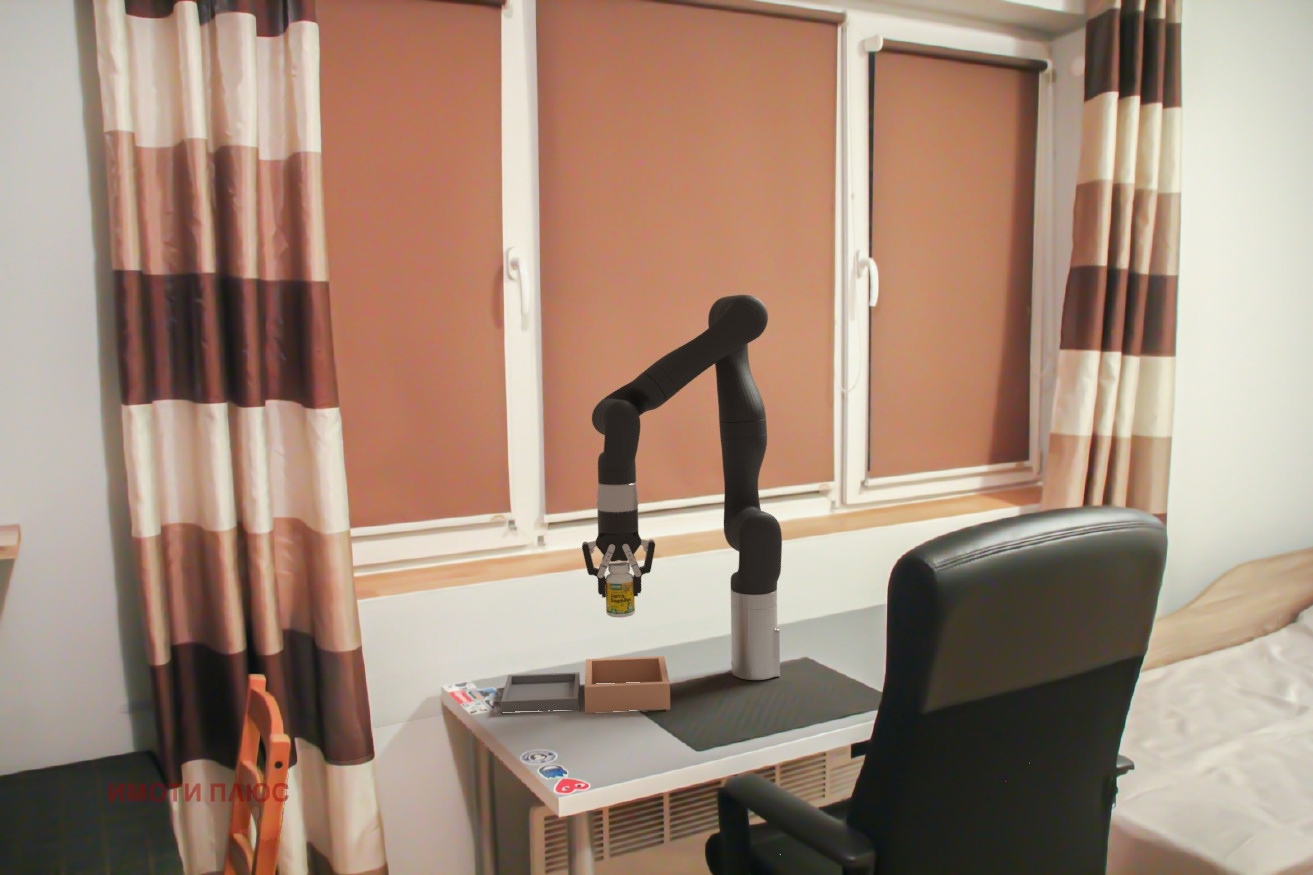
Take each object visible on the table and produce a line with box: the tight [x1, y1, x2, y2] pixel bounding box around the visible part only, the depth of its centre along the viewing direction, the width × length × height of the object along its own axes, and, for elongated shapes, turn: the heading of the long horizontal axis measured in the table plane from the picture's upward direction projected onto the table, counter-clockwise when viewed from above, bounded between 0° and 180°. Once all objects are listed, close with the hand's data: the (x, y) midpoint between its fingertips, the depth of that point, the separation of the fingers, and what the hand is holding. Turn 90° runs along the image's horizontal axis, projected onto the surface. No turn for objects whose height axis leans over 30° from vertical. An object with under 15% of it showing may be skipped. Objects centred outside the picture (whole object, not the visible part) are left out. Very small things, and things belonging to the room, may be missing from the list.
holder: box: [584, 655, 671, 714], centre depth 181 cm, size 15×15×5 cm
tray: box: [500, 671, 581, 713], centre depth 181 cm, size 14×14×2 cm
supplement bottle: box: [605, 561, 636, 618], centre depth 179 cm, size 5×5×10 cm
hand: (619, 595), depth 179 cm, fingers closed on supplement bottle, 5 cm apart
